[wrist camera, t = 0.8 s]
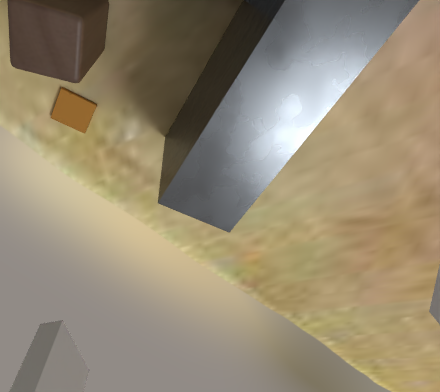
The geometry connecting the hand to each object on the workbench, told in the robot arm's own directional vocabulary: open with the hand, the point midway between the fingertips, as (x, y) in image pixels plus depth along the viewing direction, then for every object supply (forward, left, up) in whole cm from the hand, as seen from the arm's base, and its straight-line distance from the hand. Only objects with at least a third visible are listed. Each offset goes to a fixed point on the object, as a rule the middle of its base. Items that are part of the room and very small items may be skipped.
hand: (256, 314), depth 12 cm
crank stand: (-2, -4, -22) cm, 23 cm away
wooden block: (0, -12, -22) cm, 25 cm away
